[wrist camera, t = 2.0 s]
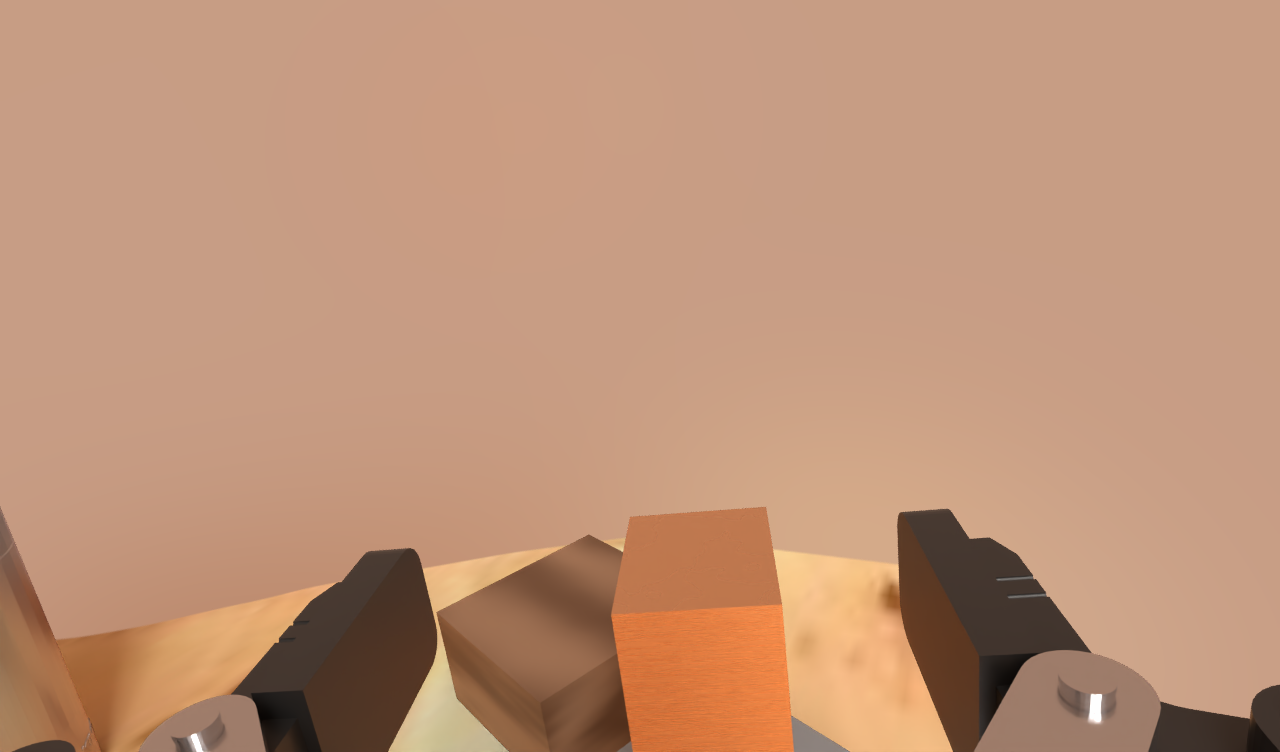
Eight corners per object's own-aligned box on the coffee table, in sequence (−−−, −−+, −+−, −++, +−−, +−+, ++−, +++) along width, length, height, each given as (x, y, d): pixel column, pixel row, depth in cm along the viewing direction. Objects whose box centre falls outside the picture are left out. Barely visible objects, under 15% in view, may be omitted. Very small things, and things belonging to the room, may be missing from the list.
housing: (655, 892, 26) (610, 614, 22) (664, 754, 31) (630, 516, 28) (805, 890, 25) (782, 604, 22) (786, 749, 31) (765, 506, 27)
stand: (560, 803, 37) (540, 702, 35) (456, 698, 45) (436, 612, 43) (717, 685, 43) (706, 595, 42) (601, 612, 52) (588, 534, 50)
